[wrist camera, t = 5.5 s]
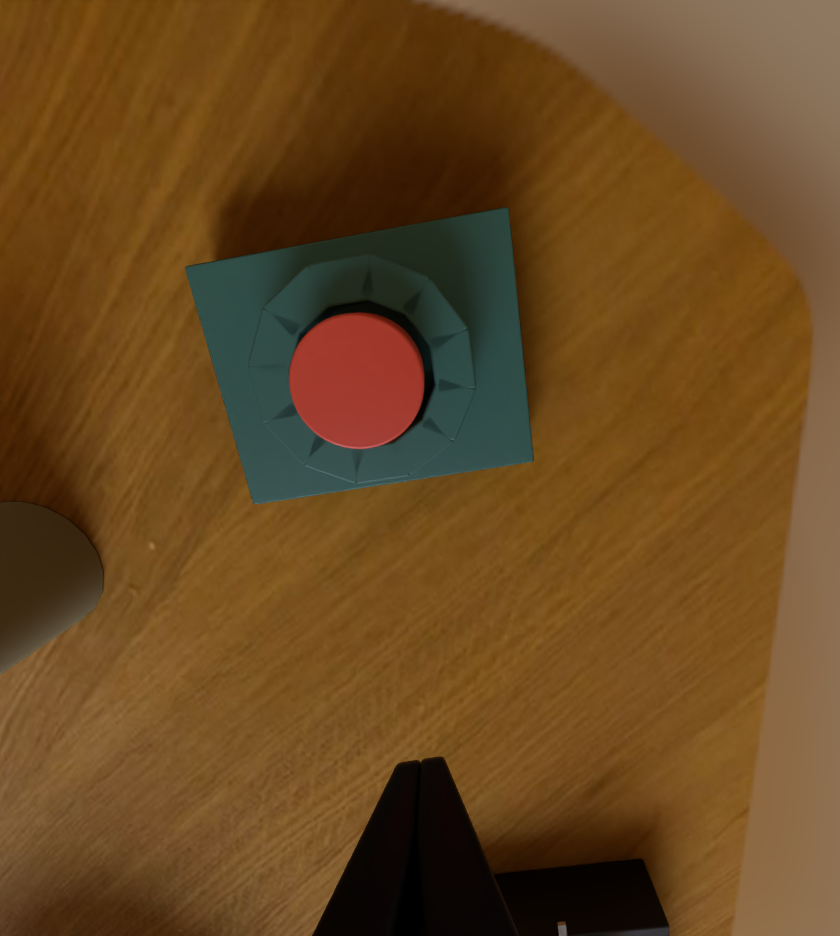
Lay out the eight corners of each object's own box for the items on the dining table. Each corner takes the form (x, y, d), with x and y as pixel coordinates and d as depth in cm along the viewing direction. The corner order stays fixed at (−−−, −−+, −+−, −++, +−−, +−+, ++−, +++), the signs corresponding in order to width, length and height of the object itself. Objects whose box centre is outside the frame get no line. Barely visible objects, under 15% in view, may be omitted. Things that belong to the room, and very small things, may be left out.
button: (413, 302, 14) (412, 301, 12) (433, 424, 15) (434, 439, 14) (290, 323, 14) (273, 326, 13) (318, 442, 15) (305, 459, 14)
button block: (498, 218, 17) (520, 193, 13) (521, 444, 19) (546, 479, 15) (212, 271, 17) (152, 260, 13) (271, 484, 20) (234, 526, 16)
